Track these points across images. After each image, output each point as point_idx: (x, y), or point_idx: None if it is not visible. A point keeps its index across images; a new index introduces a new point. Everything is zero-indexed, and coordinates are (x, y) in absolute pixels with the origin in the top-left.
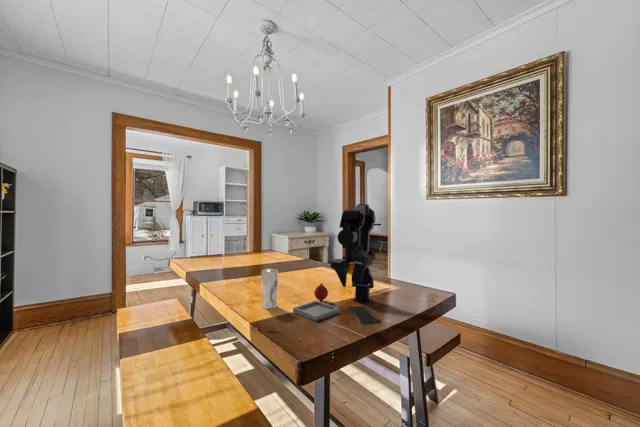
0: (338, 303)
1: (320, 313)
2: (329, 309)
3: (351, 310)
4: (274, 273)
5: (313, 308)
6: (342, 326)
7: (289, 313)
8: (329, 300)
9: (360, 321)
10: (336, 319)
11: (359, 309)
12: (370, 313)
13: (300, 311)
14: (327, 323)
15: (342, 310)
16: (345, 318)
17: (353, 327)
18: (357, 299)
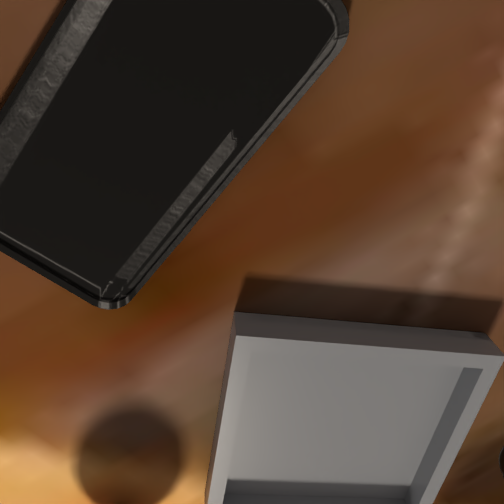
0: (54, 416)
1: (363, 384)
2: (250, 385)
3: (144, 251)
4: None
5: (303, 462)
6: (485, 138)
7: None
8: (55, 487)
9: (345, 38)
10: (373, 252)
11: (62, 208)
12: (70, 57)
13: (442, 472)
14: (478, 260)
15: (168, 317)
16: (313, 208)
17: (465, 45)
18: None
